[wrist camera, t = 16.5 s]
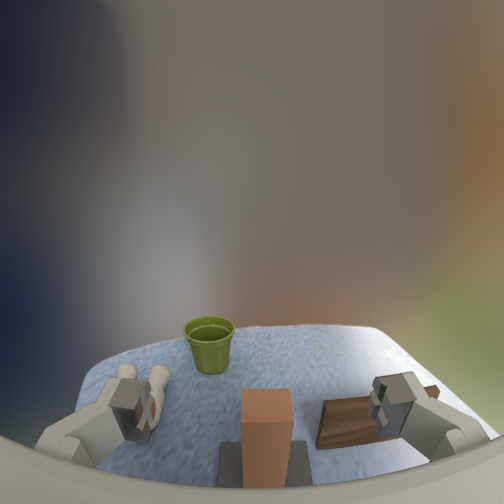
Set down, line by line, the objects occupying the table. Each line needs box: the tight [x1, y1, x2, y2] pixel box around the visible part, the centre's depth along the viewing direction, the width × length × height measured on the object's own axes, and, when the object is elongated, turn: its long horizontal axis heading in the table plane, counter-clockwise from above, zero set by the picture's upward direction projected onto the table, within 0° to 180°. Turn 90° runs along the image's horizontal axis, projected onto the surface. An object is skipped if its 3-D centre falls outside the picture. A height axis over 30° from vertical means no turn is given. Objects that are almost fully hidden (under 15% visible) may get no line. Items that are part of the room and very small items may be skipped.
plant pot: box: [183, 316, 235, 374], centre depth 57 cm, size 9×9×9 cm
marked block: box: [241, 389, 294, 488], centre depth 31 cm, size 5×5×14 cm
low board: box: [316, 385, 440, 450], centre depth 37 cm, size 2×17×9 cm, turn 90°
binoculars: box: [116, 363, 171, 441], centre depth 45 cm, size 10×16×5 cm, turn 3°
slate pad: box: [217, 441, 313, 488], centre depth 33 cm, size 12×12×1 cm
